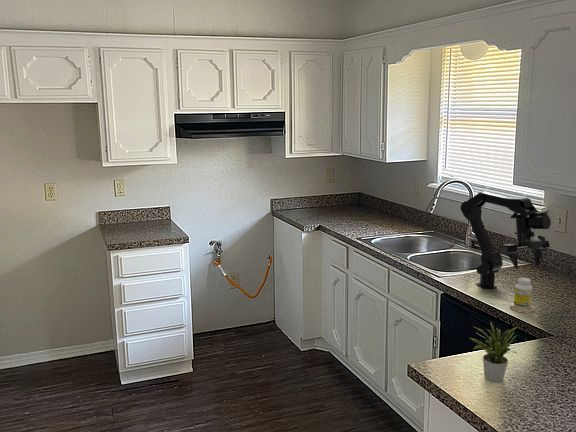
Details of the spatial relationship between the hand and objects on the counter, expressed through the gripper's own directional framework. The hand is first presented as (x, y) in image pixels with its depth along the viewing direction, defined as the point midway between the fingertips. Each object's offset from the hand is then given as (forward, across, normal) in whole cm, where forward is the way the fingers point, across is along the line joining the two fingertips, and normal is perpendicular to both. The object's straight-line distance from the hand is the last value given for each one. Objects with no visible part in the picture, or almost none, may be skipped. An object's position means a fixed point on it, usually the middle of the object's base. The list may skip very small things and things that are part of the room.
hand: (526, 267), depth 238 cm
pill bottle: (+14, -9, -8) cm, 18 cm away
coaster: (+14, -9, -8) cm, 19 cm away
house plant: (+20, -49, -57) cm, 78 cm away
